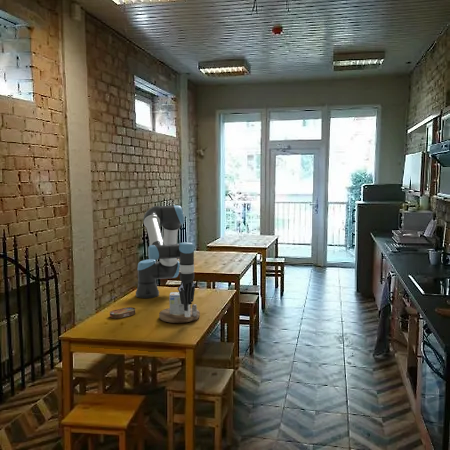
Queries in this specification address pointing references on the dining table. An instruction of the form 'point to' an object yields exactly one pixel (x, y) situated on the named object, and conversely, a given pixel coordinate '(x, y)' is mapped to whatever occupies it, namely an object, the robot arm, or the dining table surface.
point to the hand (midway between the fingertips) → (187, 316)
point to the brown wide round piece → (179, 315)
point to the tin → (122, 312)
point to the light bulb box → (176, 303)
